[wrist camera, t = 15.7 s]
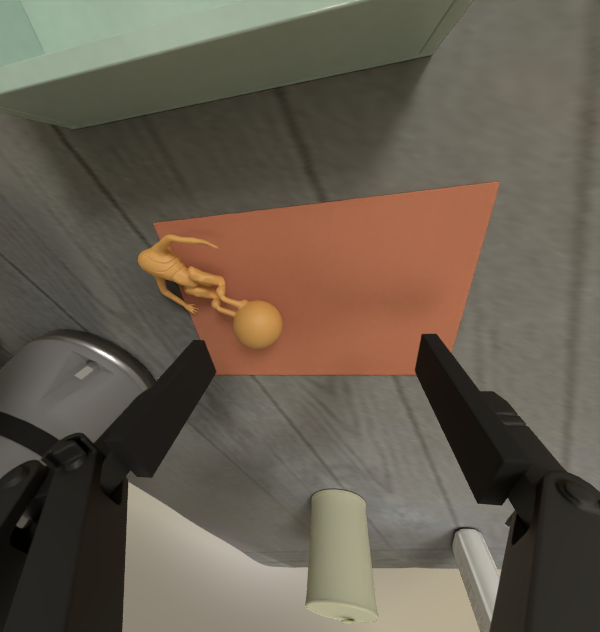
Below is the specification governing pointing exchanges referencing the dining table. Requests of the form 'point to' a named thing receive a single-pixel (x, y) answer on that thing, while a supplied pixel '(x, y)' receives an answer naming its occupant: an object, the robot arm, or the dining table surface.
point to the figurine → (211, 292)
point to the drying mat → (340, 278)
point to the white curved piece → (477, 574)
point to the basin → (195, 50)
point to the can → (340, 559)
